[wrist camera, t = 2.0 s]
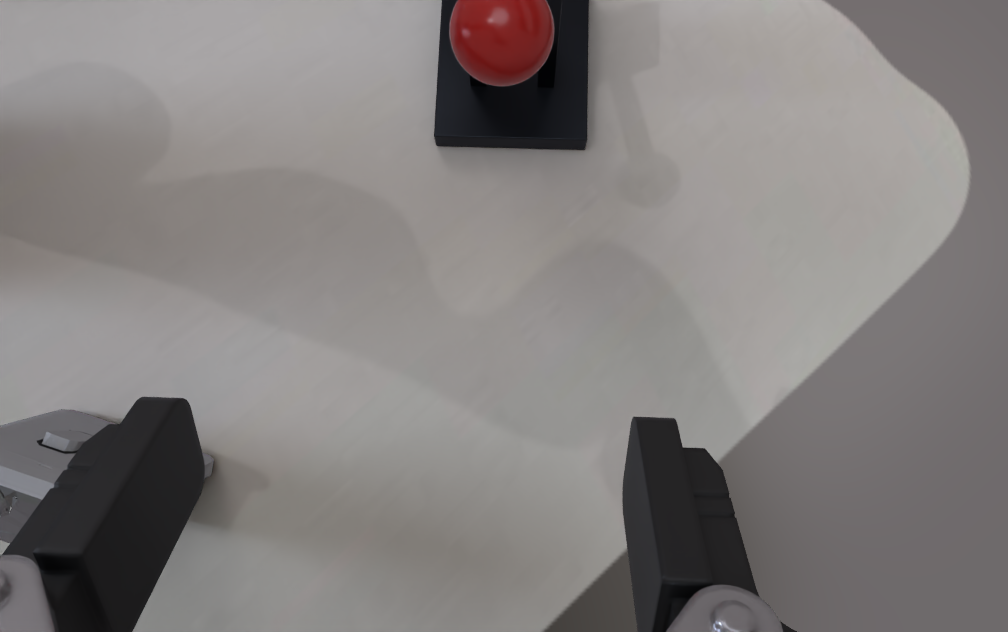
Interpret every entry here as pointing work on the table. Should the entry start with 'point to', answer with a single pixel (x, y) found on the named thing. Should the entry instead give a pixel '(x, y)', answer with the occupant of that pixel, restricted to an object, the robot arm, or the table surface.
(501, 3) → the lever
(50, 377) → the table surface
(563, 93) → the switch bracket
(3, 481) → the electrical switch
